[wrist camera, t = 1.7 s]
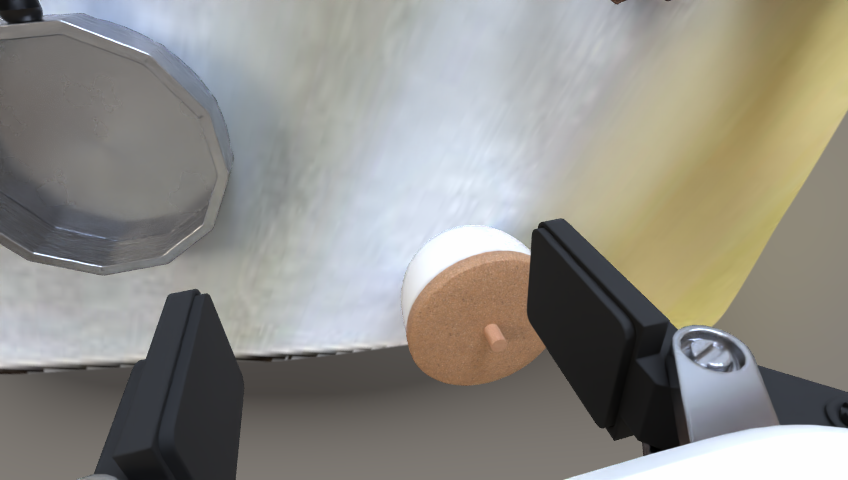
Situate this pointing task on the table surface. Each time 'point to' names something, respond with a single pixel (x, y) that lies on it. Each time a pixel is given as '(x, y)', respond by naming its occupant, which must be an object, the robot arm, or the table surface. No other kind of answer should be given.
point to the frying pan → (103, 144)
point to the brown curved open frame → (619, 0)
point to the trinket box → (469, 306)
